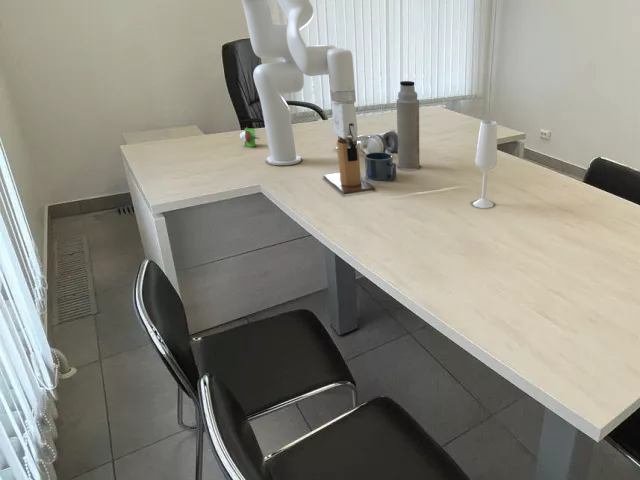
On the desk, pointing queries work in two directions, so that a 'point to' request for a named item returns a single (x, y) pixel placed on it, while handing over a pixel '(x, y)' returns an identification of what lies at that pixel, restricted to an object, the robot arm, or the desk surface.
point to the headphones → (378, 142)
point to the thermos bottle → (408, 126)
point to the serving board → (335, 181)
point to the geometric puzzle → (248, 137)
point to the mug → (380, 166)
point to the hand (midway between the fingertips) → (348, 157)
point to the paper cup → (348, 165)
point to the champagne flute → (486, 156)
